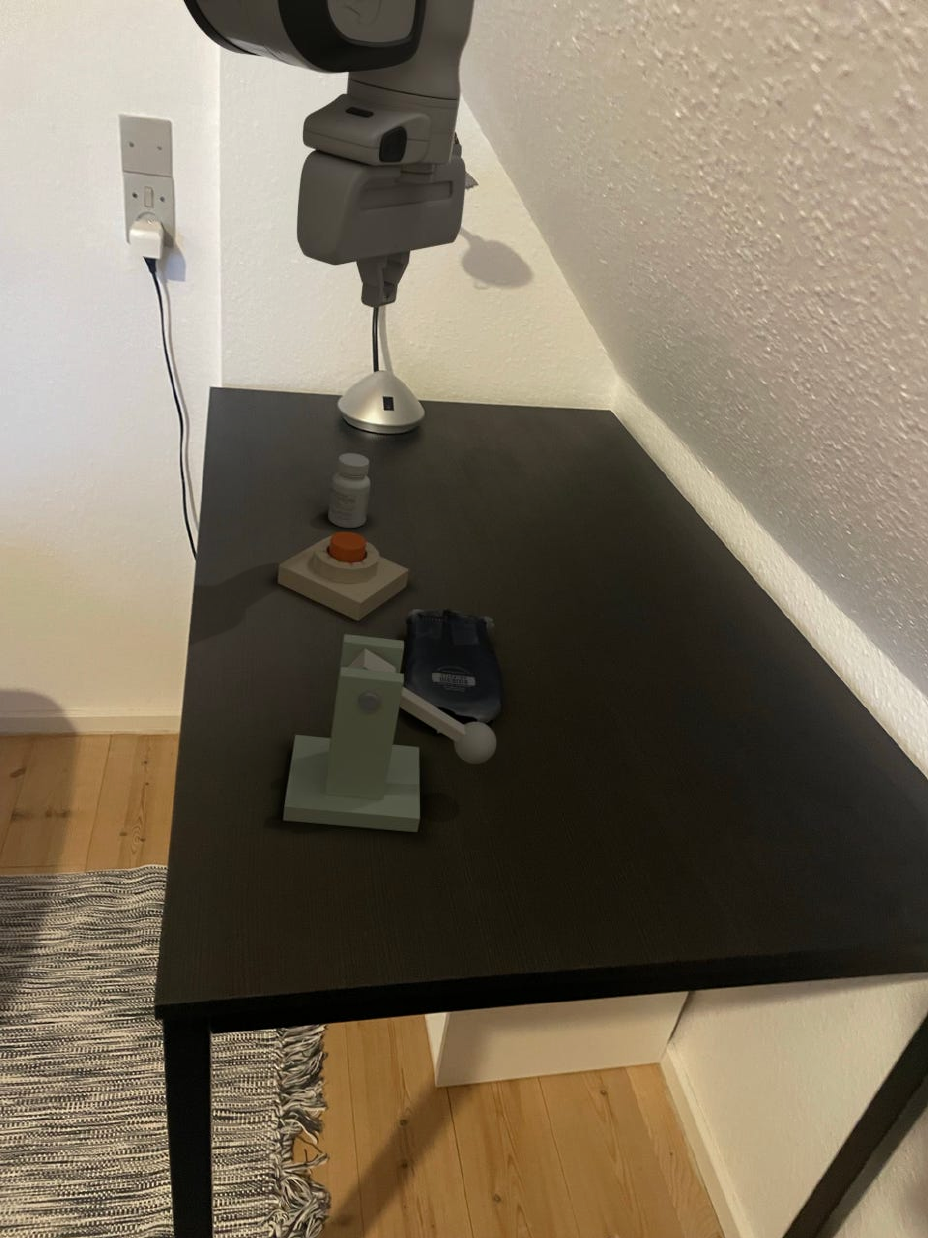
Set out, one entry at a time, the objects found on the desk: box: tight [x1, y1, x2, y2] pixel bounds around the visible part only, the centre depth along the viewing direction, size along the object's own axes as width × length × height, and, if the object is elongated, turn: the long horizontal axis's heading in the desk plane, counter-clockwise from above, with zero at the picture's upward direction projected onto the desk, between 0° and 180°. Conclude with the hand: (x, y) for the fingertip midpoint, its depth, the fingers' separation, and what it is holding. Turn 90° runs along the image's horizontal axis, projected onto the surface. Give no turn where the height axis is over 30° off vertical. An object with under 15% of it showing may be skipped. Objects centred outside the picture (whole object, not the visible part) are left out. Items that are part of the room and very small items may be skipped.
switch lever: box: [347, 649, 497, 765], centre depth 70 cm, size 13×3×3 cm
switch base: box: [282, 633, 421, 833], centre depth 70 cm, size 10×8×13 cm
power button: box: [329, 531, 367, 563], centre depth 96 cm, size 4×4×2 cm
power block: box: [277, 534, 410, 622], centre depth 97 cm, size 10×9×4 cm
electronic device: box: [403, 608, 505, 734], centre depth 86 cm, size 9×6×15 cm
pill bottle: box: [327, 452, 371, 529], centre depth 108 cm, size 4×4×8 cm
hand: (378, 303), depth 83 cm, fingers closed
